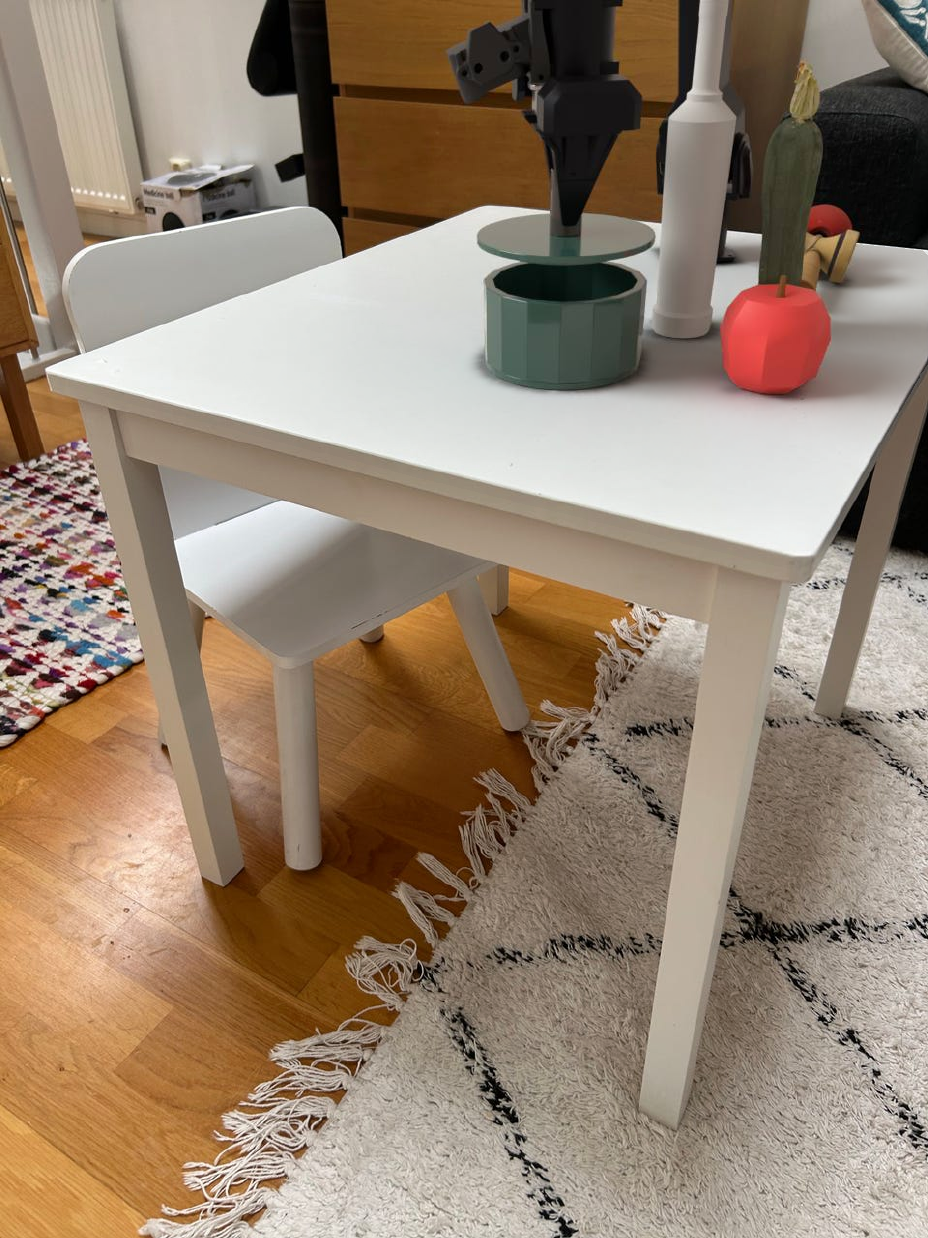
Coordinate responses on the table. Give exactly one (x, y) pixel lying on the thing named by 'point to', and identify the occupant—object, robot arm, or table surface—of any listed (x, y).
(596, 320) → the pot
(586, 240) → the lid
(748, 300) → the apple
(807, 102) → the vegetable
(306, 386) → the table surface
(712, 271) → the bottle
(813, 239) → the kendama
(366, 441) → the table surface
